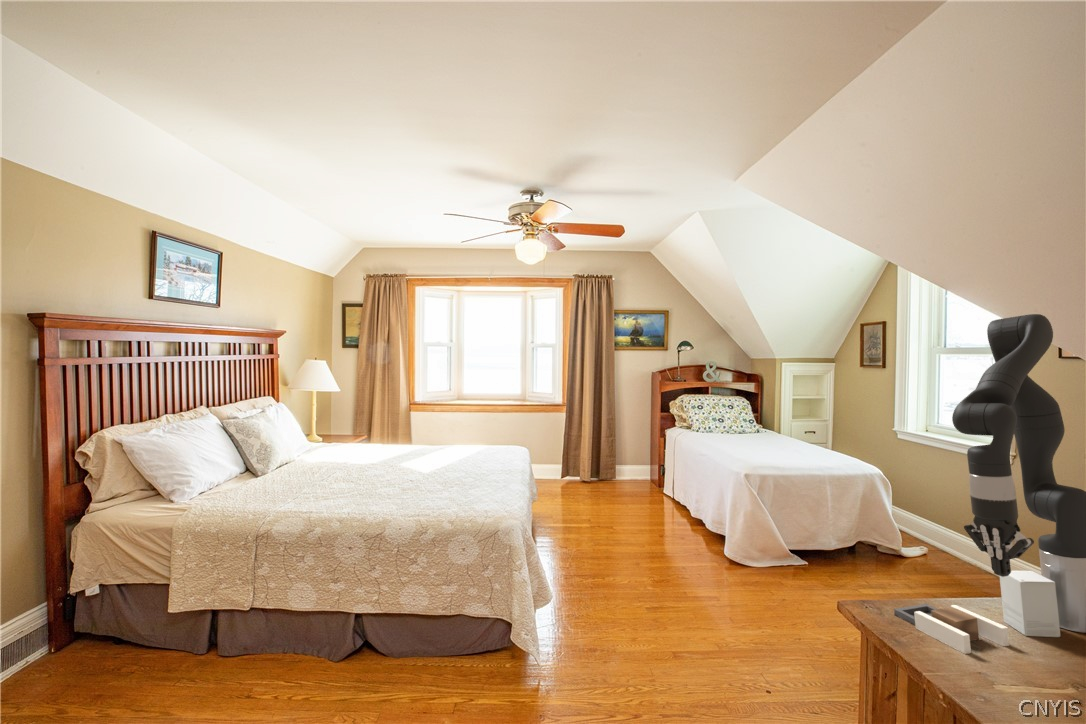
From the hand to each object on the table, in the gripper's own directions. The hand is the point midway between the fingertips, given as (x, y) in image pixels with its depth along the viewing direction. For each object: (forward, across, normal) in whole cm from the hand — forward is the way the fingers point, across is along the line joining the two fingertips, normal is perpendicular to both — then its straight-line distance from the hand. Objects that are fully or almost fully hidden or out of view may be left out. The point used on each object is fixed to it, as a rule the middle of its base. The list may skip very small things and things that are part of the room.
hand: (1001, 574), depth 109 cm
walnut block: (+18, +11, +1) cm, 21 cm away
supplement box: (+19, +8, -18) cm, 27 cm away
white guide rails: (+18, +10, 0) cm, 21 cm away
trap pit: (+18, +20, 0) cm, 27 cm away
